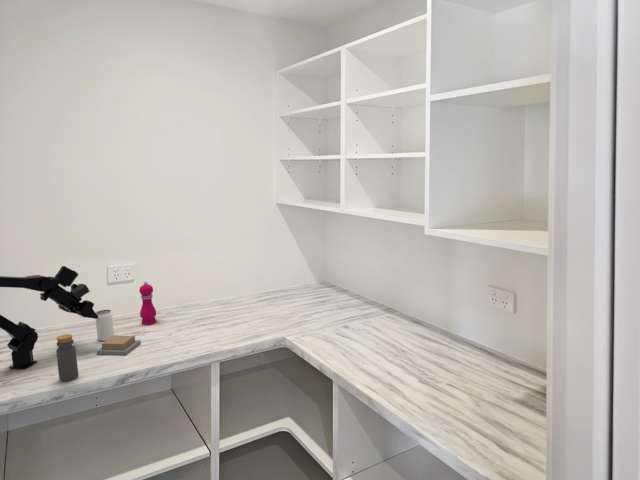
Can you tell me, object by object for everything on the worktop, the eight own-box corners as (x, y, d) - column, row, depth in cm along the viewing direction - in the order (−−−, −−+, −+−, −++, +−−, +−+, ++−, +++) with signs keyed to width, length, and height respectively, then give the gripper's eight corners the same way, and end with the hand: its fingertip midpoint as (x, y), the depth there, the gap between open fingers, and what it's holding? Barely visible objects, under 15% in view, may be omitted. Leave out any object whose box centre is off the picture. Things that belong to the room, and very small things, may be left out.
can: (107, 341, 194) (105, 314, 192) (94, 341, 195) (91, 313, 193) (117, 336, 200) (115, 309, 198) (104, 335, 201) (101, 309, 200)
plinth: (125, 355, 179) (125, 345, 178) (96, 354, 180) (95, 344, 180) (140, 343, 191) (139, 334, 190) (113, 343, 192) (112, 334, 191)
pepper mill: (137, 324, 215) (133, 282, 212) (147, 319, 222) (144, 279, 219) (150, 325, 213) (147, 283, 210) (160, 320, 220) (157, 279, 217)
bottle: (81, 373, 163) (77, 333, 161) (73, 381, 158) (68, 339, 155) (64, 374, 163) (60, 333, 161) (56, 381, 157) (51, 339, 155)
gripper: (86, 282, 179) (115, 302, 190) (62, 276, 190) (91, 296, 201) (68, 306, 174) (99, 326, 185) (44, 299, 185) (75, 318, 196)
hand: (91, 315), depth 192 cm, fingers open, 9 cm apart
